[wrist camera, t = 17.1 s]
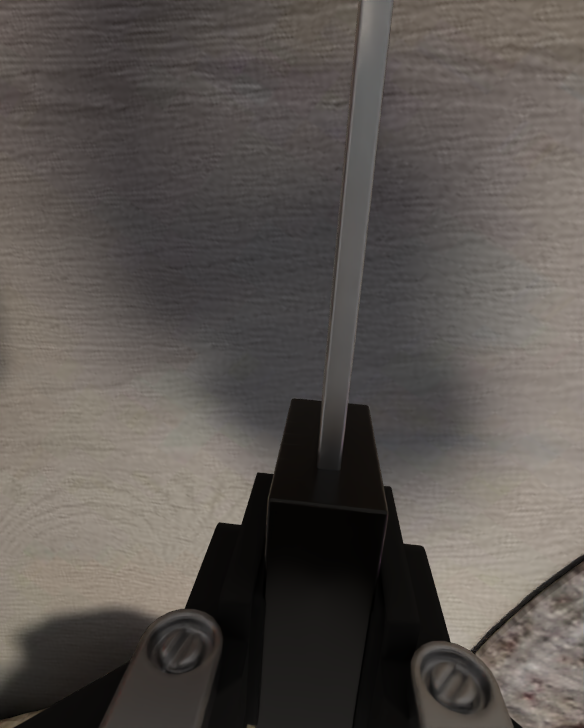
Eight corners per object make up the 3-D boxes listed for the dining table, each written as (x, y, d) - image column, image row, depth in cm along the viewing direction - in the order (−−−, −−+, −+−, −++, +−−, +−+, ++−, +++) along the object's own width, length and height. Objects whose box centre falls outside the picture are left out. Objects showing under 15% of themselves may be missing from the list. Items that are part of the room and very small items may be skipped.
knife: (328, -132, 7) (322, -495, 4) (438, -130, 7) (549, -500, 4) (275, 626, 13) (249, 801, 9) (339, 634, 13) (341, 815, 9)
